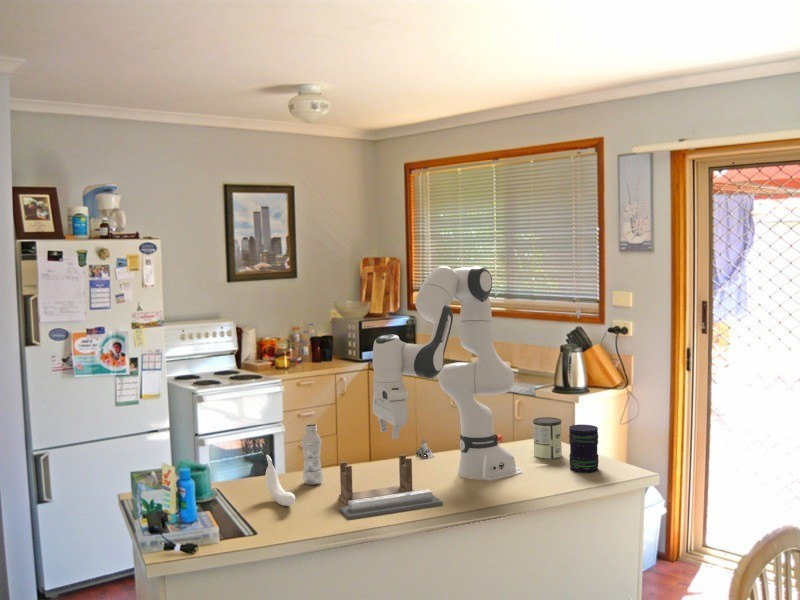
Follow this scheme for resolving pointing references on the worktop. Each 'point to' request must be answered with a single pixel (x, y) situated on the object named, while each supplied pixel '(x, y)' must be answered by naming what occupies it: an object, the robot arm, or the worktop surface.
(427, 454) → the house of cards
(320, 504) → the worktop surface
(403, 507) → the mat
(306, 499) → the worktop surface
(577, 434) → the storage jar
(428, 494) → the rail
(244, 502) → the worktop surface
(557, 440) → the coffee can
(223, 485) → the worktop surface
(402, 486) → the stand
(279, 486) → the banana
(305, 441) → the plastic bottle
